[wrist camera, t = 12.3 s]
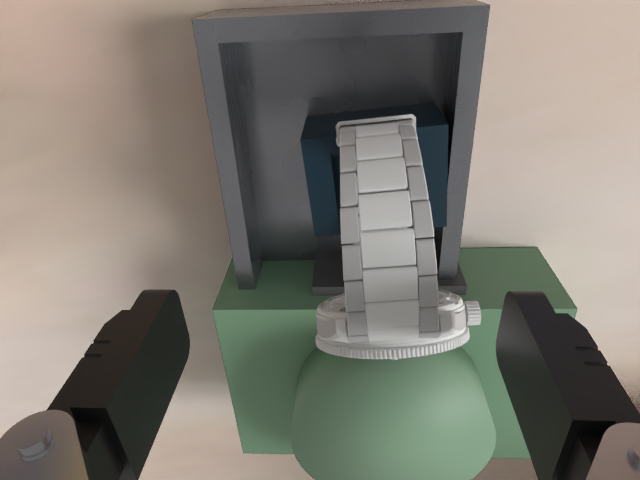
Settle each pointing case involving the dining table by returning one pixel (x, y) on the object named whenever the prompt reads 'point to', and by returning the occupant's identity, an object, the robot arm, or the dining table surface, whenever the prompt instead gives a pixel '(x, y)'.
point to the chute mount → (329, 106)
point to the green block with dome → (374, 375)
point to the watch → (384, 231)
